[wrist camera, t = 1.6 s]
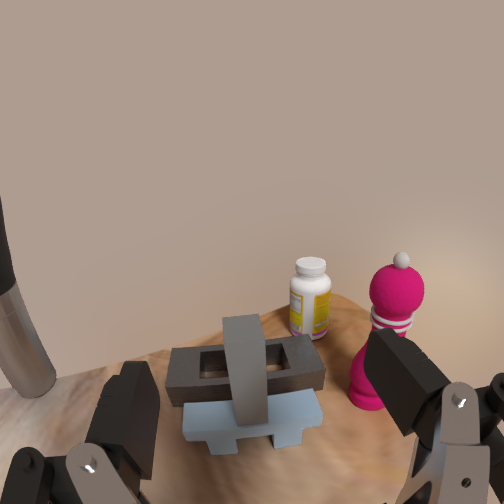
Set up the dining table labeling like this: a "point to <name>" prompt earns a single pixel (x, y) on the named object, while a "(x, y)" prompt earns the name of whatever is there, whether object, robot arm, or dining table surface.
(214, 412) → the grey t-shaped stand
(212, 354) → the dark grey rectangular block
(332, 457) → the dining table surface
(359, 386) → the pepper mill
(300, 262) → the supplement bottle
